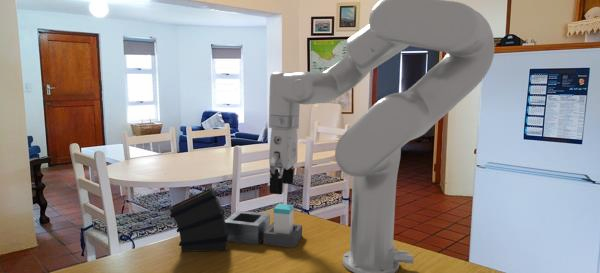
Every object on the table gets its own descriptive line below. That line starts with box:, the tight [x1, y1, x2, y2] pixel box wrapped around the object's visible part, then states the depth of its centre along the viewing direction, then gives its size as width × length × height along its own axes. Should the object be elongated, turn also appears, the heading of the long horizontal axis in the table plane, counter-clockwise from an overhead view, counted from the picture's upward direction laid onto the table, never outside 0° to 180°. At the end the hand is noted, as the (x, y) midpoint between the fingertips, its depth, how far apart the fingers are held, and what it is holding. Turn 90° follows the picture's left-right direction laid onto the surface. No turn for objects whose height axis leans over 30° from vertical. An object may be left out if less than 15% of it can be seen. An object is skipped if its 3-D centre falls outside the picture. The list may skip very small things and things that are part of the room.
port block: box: [224, 210, 271, 246], centre depth 109 cm, size 10×10×5 cm
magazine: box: [169, 187, 228, 252], centre depth 100 cm, size 4×13×15 cm, turn 94°
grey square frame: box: [263, 221, 303, 249], centre depth 107 cm, size 8×8×3 cm
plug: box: [273, 203, 294, 234], centre depth 106 cm, size 4×4×9 cm
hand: (281, 188), depth 105 cm, fingers open, 9 cm apart
